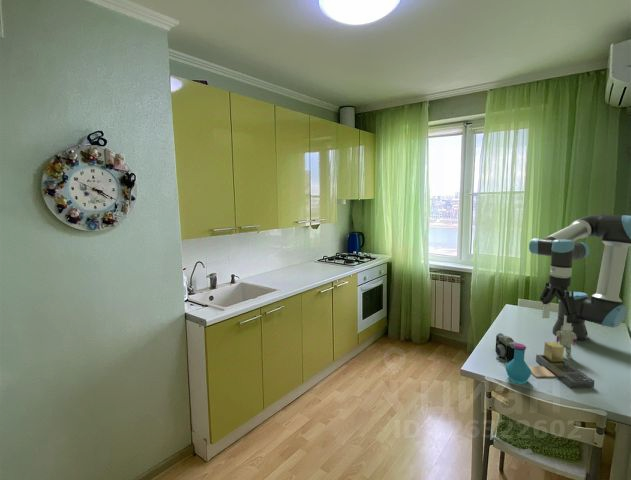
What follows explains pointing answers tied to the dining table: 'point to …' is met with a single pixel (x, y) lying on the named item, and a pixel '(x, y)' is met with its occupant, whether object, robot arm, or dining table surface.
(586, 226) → the robot arm
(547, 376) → the cork mat
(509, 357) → the camera
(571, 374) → the grey slotted tray
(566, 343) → the figurine
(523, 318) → the dining table surface
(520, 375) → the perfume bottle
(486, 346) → the dining table surface
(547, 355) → the block
